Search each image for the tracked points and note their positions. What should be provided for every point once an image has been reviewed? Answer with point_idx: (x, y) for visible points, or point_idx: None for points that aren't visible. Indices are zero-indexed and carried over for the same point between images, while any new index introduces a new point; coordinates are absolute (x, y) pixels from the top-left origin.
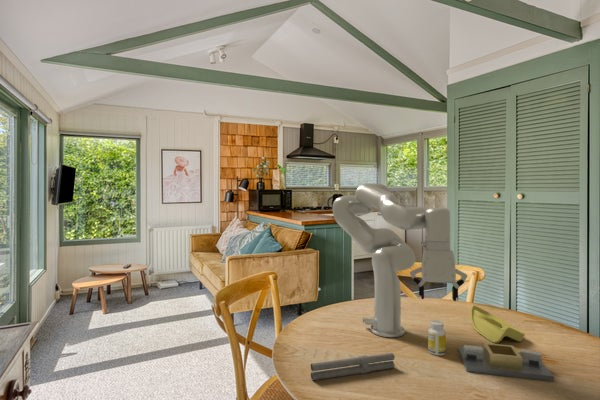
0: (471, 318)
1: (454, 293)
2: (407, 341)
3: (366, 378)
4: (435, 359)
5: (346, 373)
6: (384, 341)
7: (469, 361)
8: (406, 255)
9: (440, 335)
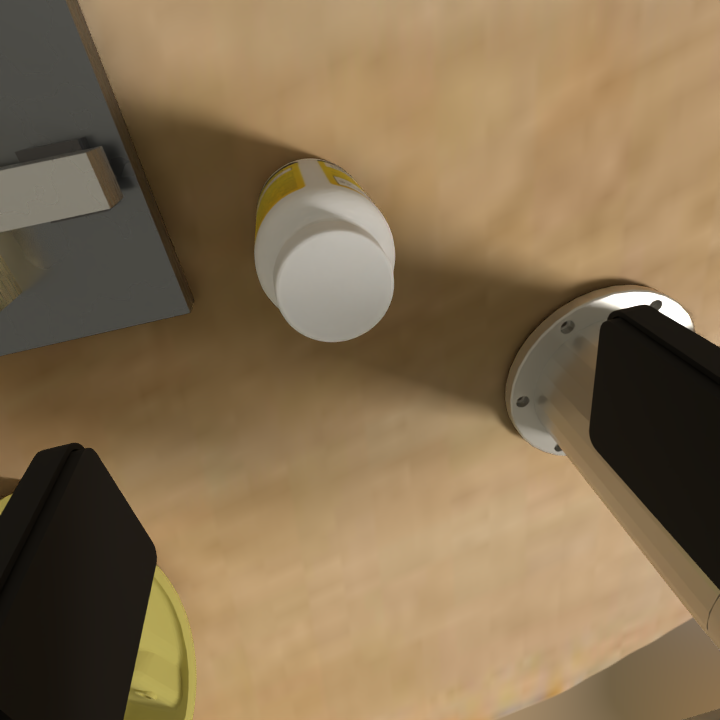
0: (188, 638)
1: (2, 563)
2: (489, 290)
3: None
4: (306, 91)
5: None
6: (620, 227)
7: (56, 76)
8: None
9: (288, 195)
